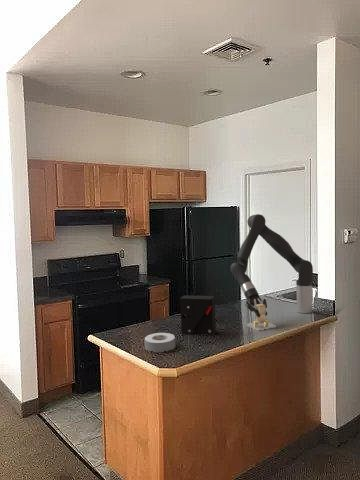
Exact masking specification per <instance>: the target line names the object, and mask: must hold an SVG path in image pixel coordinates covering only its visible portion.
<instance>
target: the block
mask: <svg viewBox="0 0 360 480" xmlns="http://www.w3.org/2000/svg"><path fill="white" fill-rule="evenodd" d="M256 307H257V310H258V311H259V313H260V315H261V316H260V317H259V318H258V317H257V316H256V315H255V319H256V320H255V321H256V322H257V323H260V324H261V323H264V322H266V319H267V318H266V317H267V316H266V312H267V310H266V309H267V308H266V306H265V305H263V304H257V305H256Z"/></svg>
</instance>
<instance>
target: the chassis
mask: <svg viewBox="0 0 360 480" xmlns="http://www.w3.org/2000/svg"><path fill="white" fill-rule="evenodd" d="M245 325H246V327H249V328H251V329H254V330H255V329H256V331H258V330H261V331H264V329H266V330H271V329H276V328H277V325H276V324H273V323H271V322H269V319H268V318H266V322H264V323H261V324H260V323H257V322H256V318H255V320H254V321H253V322H251V323H246V324H245ZM270 328H271V329H270Z"/></svg>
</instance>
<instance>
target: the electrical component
mask: <svg viewBox="0 0 360 480" xmlns="http://www.w3.org/2000/svg"><path fill="white" fill-rule="evenodd" d="M215 303H216V301H215V296H214V295H185V294H184V295H183V296H181V297H180V298H179V304H180V306H179V307H180V325H181V326H180V328H181V330H180V331H181V335H202V334H203V335H205V336H214V335H215V333H216V332H217V330H216V329H217V328H216V327H217V325H216V304H215Z"/></svg>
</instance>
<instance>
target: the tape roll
mask: <svg viewBox="0 0 360 480" xmlns="http://www.w3.org/2000/svg"><path fill="white" fill-rule="evenodd" d="M175 348H176V337H175V335H174V334H173V333H169V332H156V333H151V334H149V335H145V337H144V349H145V351H147V350H148V352H150V351H153V352H152V353H165V352H164V351H166V352H169V350H170V351H172V350H174V349H175Z"/></svg>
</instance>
